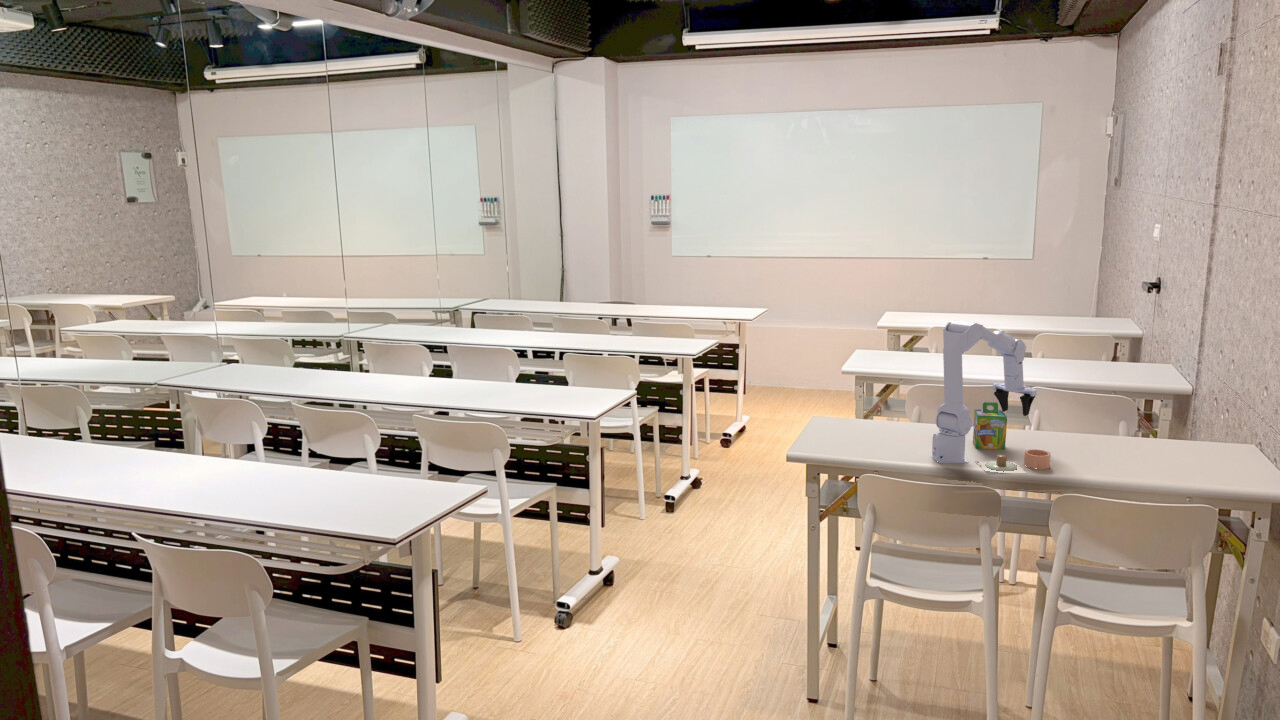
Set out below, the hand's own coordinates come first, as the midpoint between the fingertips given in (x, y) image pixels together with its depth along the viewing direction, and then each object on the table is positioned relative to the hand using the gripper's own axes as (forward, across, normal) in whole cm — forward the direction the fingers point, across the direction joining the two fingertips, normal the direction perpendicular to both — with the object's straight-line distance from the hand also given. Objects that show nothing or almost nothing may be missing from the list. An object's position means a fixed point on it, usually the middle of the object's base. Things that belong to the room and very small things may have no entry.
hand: (1015, 412), depth 284 cm
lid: (+6, -13, +27) cm, 31 cm away
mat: (+7, -13, +27) cm, 31 cm away
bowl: (+8, -18, +18) cm, 27 cm away
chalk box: (+9, +3, +10) cm, 14 cm away
